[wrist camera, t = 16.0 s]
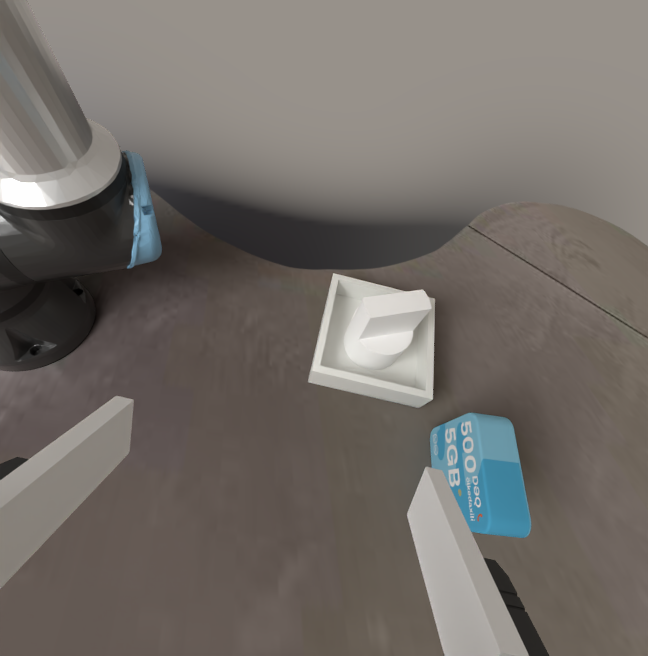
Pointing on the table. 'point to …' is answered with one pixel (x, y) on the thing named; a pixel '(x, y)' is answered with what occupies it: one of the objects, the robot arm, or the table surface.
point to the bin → (387, 384)
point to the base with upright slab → (384, 327)
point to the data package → (483, 473)
